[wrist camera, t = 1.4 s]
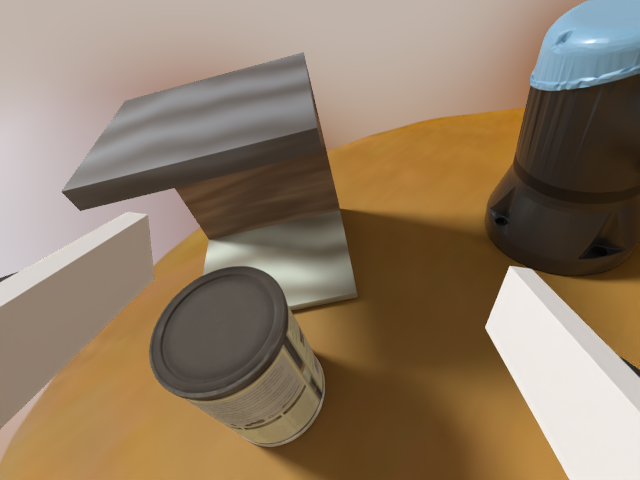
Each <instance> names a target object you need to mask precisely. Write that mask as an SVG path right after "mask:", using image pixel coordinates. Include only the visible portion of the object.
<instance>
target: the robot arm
mask: <svg viewBox="0 0 640 480" xmlns="http://www.w3.org/2000/svg"><path fill="white" fill-rule="evenodd" d="M530 81H531V82H530V84H531V87H530V91H529V95H528V100H527V104H526V109H525V113H524V117H523V122H522V126H521V131H520V135H519V139H518V144H517V148H516V153H515V157H514V161H513V164H512V166H511V167H510V168H509V170H508V171H507V173H506V174H505V175H504V177H503V178H502V180H501V181H500V183H499V184H498V185H497V187H496V188H495V190H494V191H493V192H492V194H491V196H490V198H489V200H488V204H487V209H486V214H485V227H486V230H487V233H488V235H489V236H490V238H491V240H492V241H493V242H494V244H495V245H496V246H497V247H498V248H499V249H500V250H501V251H503V252H504V253H505V254H507V255H508V256H509V257H511V258H513V259H514V260H516V261H518V262H520V263H522V264H524V265H526V266H529V267H531V268H534V269H537V270H540V271H544V272H548V273H553V274H560V275H574V276H576V275H591V274H596V273H601V272H605V271H607V270H610V269H613V268H615V267H617V266H618V265H620V264H622V263H623V262H624V261H625V260H626V259H627V258H628V257H629V256H630V255H631V254H632V252H633V251H634V249H635V248H636V246H637V245H638V243H639V242H640V0H589V1H586V2H584V3H582V4H580V5H578V6H576V7H574V8H573V9H571V10H570V11H568V12H567V13H565V14H564V15H563V16H562V17H560V18H559V19H558V20H557V21H556V22H555V23H554V24H553V25H552V27H551V28H550V29H549V30H548V32H547V34H546V36H545V38H544V41H543V44H542V47H541V51H540V54H539V57H538V61H537V64H536V67H535V69H534V71H533V72H532V74H531V77H530ZM153 280H154V270H153V260H152V251H151V241H150V230H149V220H148V215H147V214H141V213H133V212H126V213H124V214H122V215H121V216H119V217H117V218H116V219H113V220H112V221H110V222H108V223H106V224H104V225H103V226H101V227H99V228H97V229H96V230H94V231H92V232H90V233H88V234H86V235H85V236H83V237H81V238H79V239H77V240H76V241H74V242H72V243H70V244H68V245H66V246H65V247H63V248H61V249H59V250H57V251H56V252H54V253H52V254H50V255H49V256H47V257H45V258H43V259H42V260H39V261H38V262H36V263H34V264H32V265H30V266H29V267H27V268H25V269H23V270H21V271H19V272H17V273H14V274H11V275H8V276H5V277H2V278H0V429H1V428H2V427H3V426H4V425H5V424H6V423H7V422H8V421H9V420H10V419H11V418H12V417H13V416H14V415H15V414H16V413H17V412H18V411H19V410H20V409H22V408H23V407H24V405H26V404H27V402H29V401H30V400H31V399H32V398H33V397H34V396H35V395H36V394H37V393H38V392H39V391H40V390H41V389H42V388H43V387H44V386H45V385H46V384H47V383H48V382H49V381H50V380H51V379H52V378H53V377H54V376H55V375H56V374H57V373H58V372H60V371H61V370H62V369H63V368H64V367H65V366H66V365H67V364H68V363H69V362H70V361H71V360H72V359H73V358H74V357H75V356H76V355H77V354H78V353H79V352H80V351H81V350H82V349H83V348H84V347H85V346H86V345H87V344H88V343H89V342H90V341H91V340H92V339H93V338H94V337H95V336H97V335H98V334H99V333H100V332H101V331H102V330H103V329H104V328H105V327H106V326H107V325H108V324H109V323H110V322H111V321H112V320H113V319H114V318H115V317H116V316H117V315H118V314H119V313H120V312H121V311H122V310H123V309H124V308H125V307H126V306H127V305H128V304H129V303H130V302H131V301H132V300H133V299H135V298H136V297H137V296H138V295H139V294H140V293H141V292H142V291H143V290H144V289H145V288H146V287H147V286H148V285H149V284H150V283H151V282H152V281H153ZM485 329H486V330H487V332H488V334H489V336H490V338H491V339H492V341H493V343H494V345H495V347H496V348H497V350H498V352H499V354H500V356H501V357H502V359H503V361H504V363H505V365H506V366H507V368H508V370H509V372H510V374H511V375H512V377H513V379H514V381H515V383H516V384H517V386H518V388H519V390H520V392H521V393H522V395H523V397H524V399H525V401H526V402H527V404H528V406H529V408H530V410H531V411H532V413H533V415H534V417H535V419H536V420H537V422H538V424H539V426H540V428H541V429H542V431H543V433H544V435H545V436H546V438H547V440H548V442H549V444H550V445H551V447H552V449H553V451H554V453H555V454H556V456H557V458H558V460H559V462H560V463H561V465H562V467H563V469H564V471H565V472H566V474H567V476H568V478H569V480H640V370H639V369H638V368H636V367H635V366H633V365H632V364H630V363H629V362H627V361H626V360H625V359H623V358H622V357H619V356H618V355H617V354H616V353H615V352H614V351H613V350H612V349H611V348H610V347H609V346H608V345H607V344H606V343H605V342H604V341H603V340H602V339H601V338H600V337H599V336H598V335H597V334H596V333H595V332H594V331H593V330H592V329H591V328H590V327H589V326H588V325H587V324H586V323H585V322H584V321H583V320H582V319H581V318H580V317H579V316H578V315H577V314H576V313H575V312H574V311H573V310H572V309H571V308H570V307H569V306H568V305H567V304H566V303H565V302H564V301H563V300H562V299H561V298H560V297H559V296H558V295H557V294H556V293H555V292H554V291H553V290H552V289H551V288H550V287H549V286H548V285H547V284H546V283H545V282H544V281H543V280H542V279H541V278H540V277H539V276H538V275H537V274H536V273H535V272H534V271H533V270H532V269H529V268H522V267H515V266H509V269H508V271H507V274H506V276H505V279H504V281H503V284H502V286H501V289H500V291H499V294H498V296H497V299H496V301H495V304H494V306H493V309H492V311H491V314H490V316H489V319H488V321H487V324H486V326H485Z"/></svg>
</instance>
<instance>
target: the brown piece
mask: <svg viewBox="0 0 640 480" xmlns="http://www.w3.org/2000/svg"><path fill="white" fill-rule="evenodd" d="M171 188H175V189H176V190H177V192H178V193H179V195H180V196H181V198H182V200H183V201H184V202H185V204H186V206H187V207H188V209H189V210H190V212H191V213H192V215H193V216H194V218H195V219H196V221H197V222H198V223H199V225H200V227H201V228H202V230H203V231H204V233H205V234H206V236H207V237H208V239H209V244H208V249H207V255H206V260H205V266H204V271H203V275H205V274H207V273H210V272H212V271H215V270H218V269H222V268H227V267H232V266H248V267H254V268H257V269H260V270H262V271H264V272H266V273H268V274H269V275H270V276H272V277H273V278H274V279H275V280H276V281H277V282H278V284H279V285H280V287H281V289H282V290H283V293H284V295H285V298H286V301H287V304H288V306H289V308H290V310H291V311H293V310H298V309H303V308H307V307H312V306H317V305H322V304H327V303H332V302H337V301H342V300H347V299H352V298H357V297H358V294H357V289H356V285H355V280H354V275H353V270H352V265H351V260H350V256H349V251H348V246H347V241H346V236H345V231H344V226H343V222H342V217H341V212H340V207H339V203H338V199H337V194H336V190H335V186H334V181H333V177H332V173H331V169H330V164H329V160H328V156H327V151H326V147H325V143H324V139H323V134H322V130H321V126H320V122H319V117H318V113H317V108H316V104H315V100H314V95H313V91H312V87H311V82H310V78H309V74H308V70H307V65H306V61H305V57H304V53H300V54H296V55H292V56H289V57H285V58H281V59H278V60H274V61H270V62H267V63H263V64H259V65H255V66H252V67H248V68H245V69H241V70H237V71H233V72H230V73H226V74H223V75H219V76H215V77H211V78H208V79H204V80H200V81H196V82H193V83H189V84H186V85H182V86H178V87H175V88H171V89H167V90H163V91H160V92H156V93H153V94H149V95H145V96H141V97H138V98H134V99H130V100H127V101H125V102H124V103H123V105H122V106H121V108H120V109H119V110H118V112H117V113H116V115H115V116H114V117H113V119H112V120H111V122H110V123H109V125H108V126H107V128H106V129H105V130H104V132H103V133H102V135H101V136H100V137H99V139H98V140H97V142H96V143H95V145H94V146H93V147H92V149H91V150H90V152H89V153H88V154H87V156H86V157H85V159H84V160H83V162H82V163H81V165H80V166H79V167H78V169H77V170H76V172H75V173H74V174H73V176H72V177H71V179H70V180H69V182H68V183H67V184H66V186H65V187H64V189H63V190H62V193H63V194H64V195H65V196H66V197H67V198H68V199H69V200H70V201H71V202H72V203H73V204H74V205H75V206H76V207H77V208H78V209H79V210H80V211H81V210H85V209H90V208H94V207H98V206H102V205H106V204H110V203H114V202H118V201H122V200H126V199H130V198H134V197H139V196H142V195H147V194H151V193H155V192H159V191H164V190H168V189H171Z"/></svg>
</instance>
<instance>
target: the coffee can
mask: <svg viewBox="0 0 640 480" xmlns="http://www.w3.org/2000/svg"><path fill="white" fill-rule="evenodd" d="M149 357H150V364H151V368H152V371H153V373H154V375H155V377H156V379H157V380H158V382H159V383H160V384H161V385H162V386H163V387H164V388H165V389H167V390H168V391H169V392H171V393H173V394H175V395H177V396H179V397H182V398H185V399H186V400H188V401H189V402H191V403H192V404H194V405H195V406H197V407H198V408H200V409H201V410H203V411H205V412H206V413H208V414H209V415H211V416H212V417H214V418H215V419H217V420H218V421H220V422H221V423H223V424H225V425H226V426H228V427H229V428H231V429H232V430H234V431H235V432H237V433H238V434H240V435H241V436H242V437H243V438H245V439H246V440H247V441H249V442H251V443H253V444H256V445H259V446H265V447H275V446H279V445H283V444H286V443H289V442H291V441H293V440H295V439H296V438H297V437H299V436H300V435H302V434H303V433H304V432H305V431H306V430H307V429H308V428H309V427H310V426H311V425H312V423H313V422H314V420H315V419H316V417H317V415H318V413H319V411H320V409H321V407H322V404H323V400H324V395H325V385H326V384H325V377H324V373H323V369H322V367H321V364H320V363H319V361H318V359H317V358H316V356H315V355H314V353H313V351H312V349H311V347H310V345H309V344H308V342H307V340H306V338H305V336H304V334H303V332H302V331H301V329H300V327H299V325H298V323H297V321H296V319H295V317H294V315H293V314H292V312H291V310H290V308H289V306H288V304H287V301H286V298H285V295H284V293H283V290H282V289H281V287H280V285H279V284H278V282H277V281H276V280H275V279H274V278H273V277H272V276H270V275H269V274H268V273H266V272H264V271H262V270H260V269H257V268H254V267H248V266H232V267H227V268H222V269H218V270H215V271H212V272H210V273H207V274H205V275H203V276H201V277H200V278H198V279H196V280H195V281H193V282H192V283H190V284H189V285H188V286H186V287H185V288H184V289H182V290H181V291H180V292H179V293H178V294H177V295H176V296H175V297H174V298H173V299H172V300H171V302H170V303H169V304H168V305H167V307H166V308H165V309H164V311H163V312H162V314H161V316H160V318H159V319H158V321H157V323H156V326H155V328H154V331H153V334H152V337H151V342H150V349H149Z"/></svg>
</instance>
